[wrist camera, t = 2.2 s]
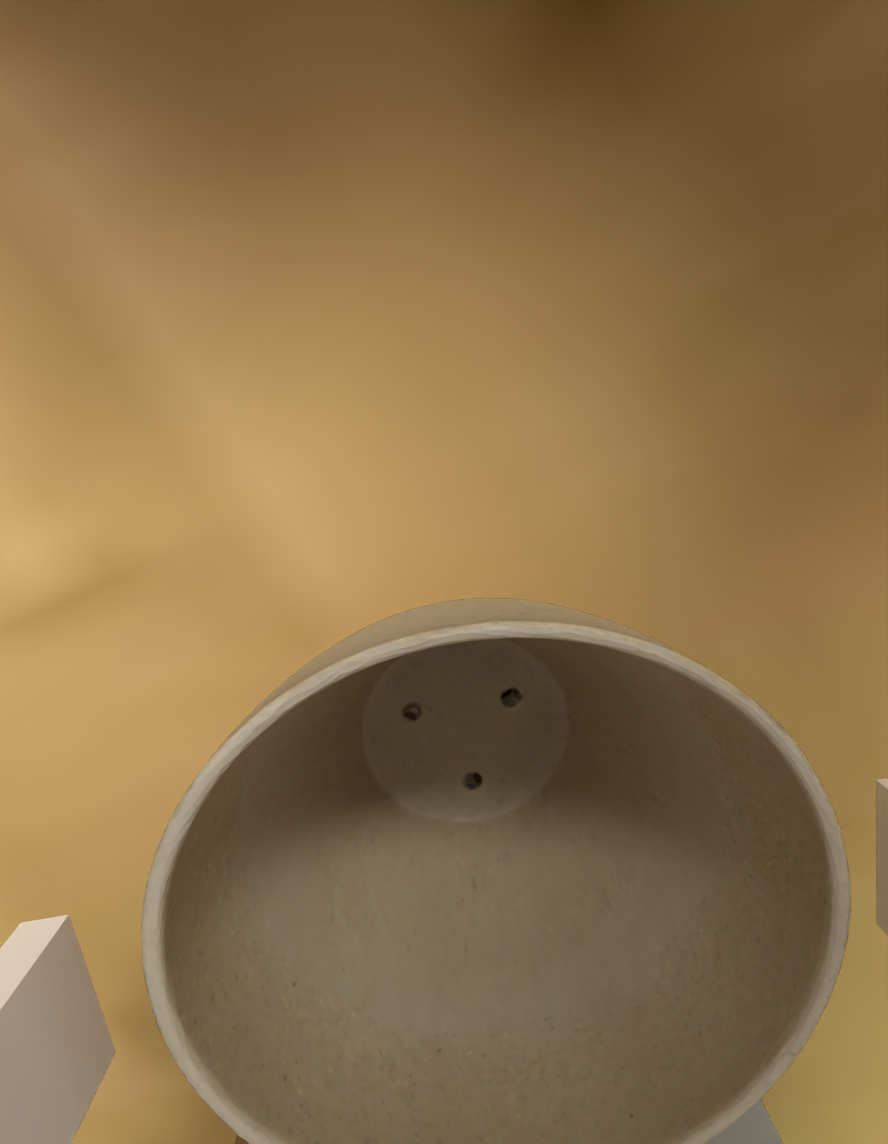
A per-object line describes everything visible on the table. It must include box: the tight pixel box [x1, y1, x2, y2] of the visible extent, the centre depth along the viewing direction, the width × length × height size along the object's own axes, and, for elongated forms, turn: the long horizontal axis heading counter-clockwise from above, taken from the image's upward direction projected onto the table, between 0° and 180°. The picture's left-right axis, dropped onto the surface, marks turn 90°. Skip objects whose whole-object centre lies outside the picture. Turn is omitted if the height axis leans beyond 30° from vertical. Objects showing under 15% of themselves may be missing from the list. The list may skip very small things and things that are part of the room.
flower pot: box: [141, 598, 850, 1144], centre depth 12 cm, size 10×10×7 cm
